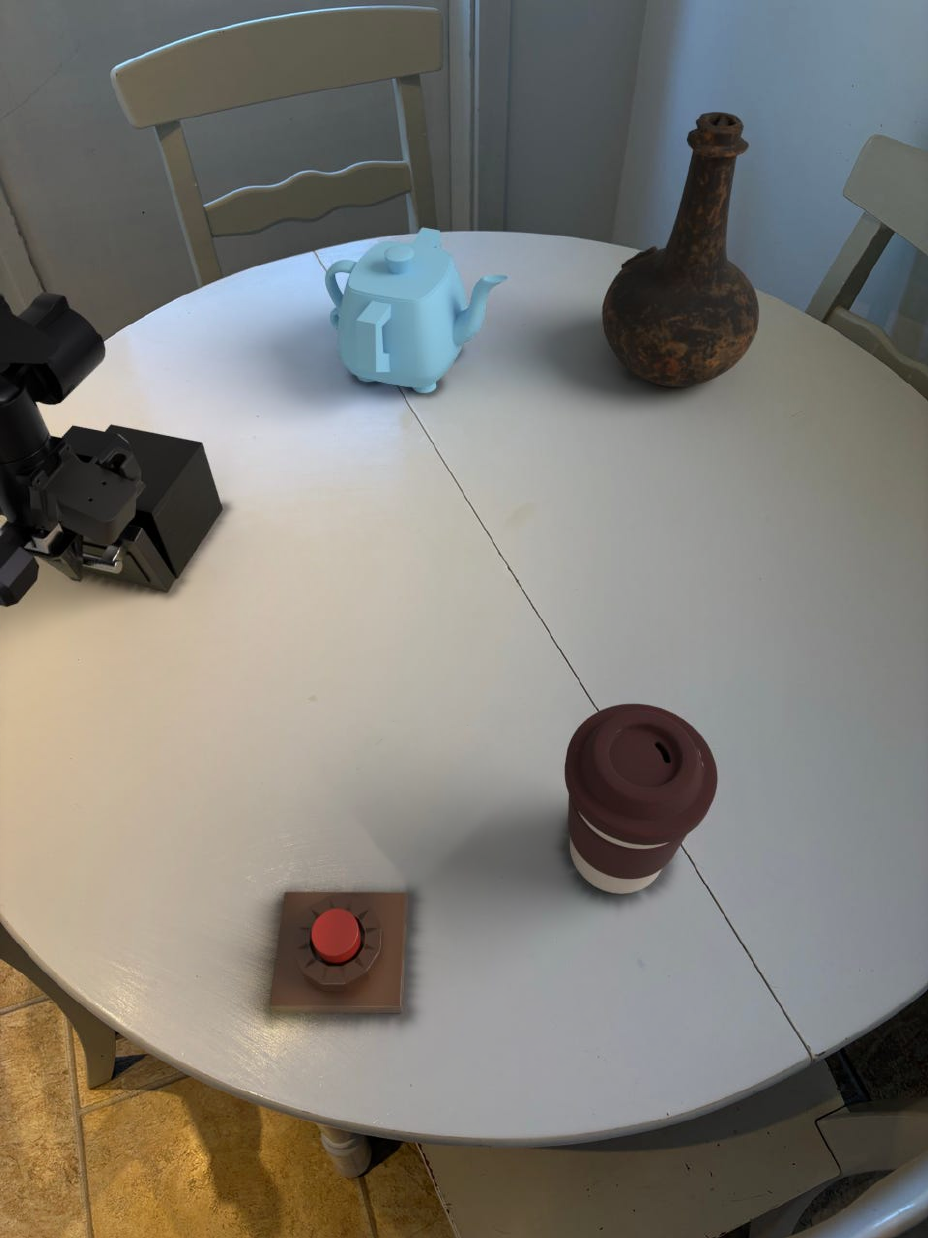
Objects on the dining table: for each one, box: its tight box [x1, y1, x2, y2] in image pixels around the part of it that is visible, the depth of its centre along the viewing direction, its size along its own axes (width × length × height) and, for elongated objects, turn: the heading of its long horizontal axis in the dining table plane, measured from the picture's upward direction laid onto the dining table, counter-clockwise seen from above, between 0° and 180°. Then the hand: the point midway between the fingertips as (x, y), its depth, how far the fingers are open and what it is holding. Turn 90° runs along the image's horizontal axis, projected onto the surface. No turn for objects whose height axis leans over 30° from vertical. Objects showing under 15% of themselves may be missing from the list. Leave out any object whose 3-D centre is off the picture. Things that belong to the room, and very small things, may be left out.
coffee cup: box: [564, 703, 719, 895], centre depth 63 cm, size 10×10×15 cm
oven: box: [104, 423, 224, 580], centre depth 87 cm, size 10×10×9 cm
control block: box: [269, 891, 409, 1014], centre depth 63 cm, size 9×8×4 cm
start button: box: [311, 909, 361, 963], centre depth 61 cm, size 3×3×2 cm
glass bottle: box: [601, 111, 760, 388], centre depth 97 cm, size 18×18×28 cm
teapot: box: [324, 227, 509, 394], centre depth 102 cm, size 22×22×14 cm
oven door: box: [83, 525, 176, 593], centre depth 82 cm, size 4×10×9 cm, turn 74°
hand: (77, 579), depth 79 cm, fingers closed
